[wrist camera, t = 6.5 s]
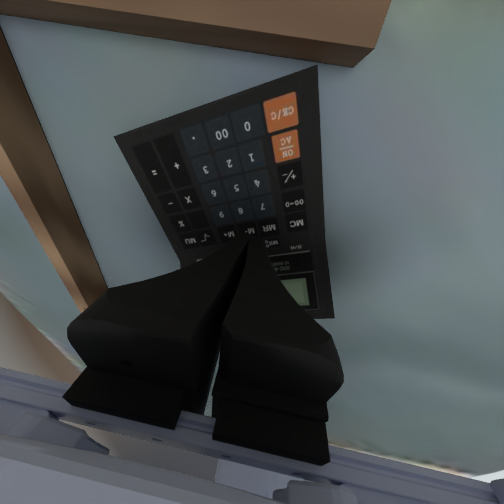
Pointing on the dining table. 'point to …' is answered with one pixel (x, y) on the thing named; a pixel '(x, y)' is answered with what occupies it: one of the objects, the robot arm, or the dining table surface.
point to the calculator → (243, 180)
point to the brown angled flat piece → (166, 27)
